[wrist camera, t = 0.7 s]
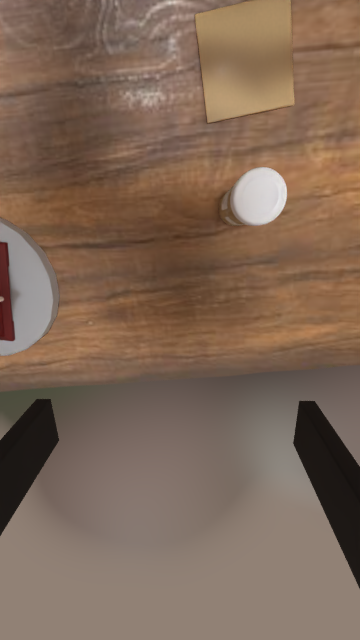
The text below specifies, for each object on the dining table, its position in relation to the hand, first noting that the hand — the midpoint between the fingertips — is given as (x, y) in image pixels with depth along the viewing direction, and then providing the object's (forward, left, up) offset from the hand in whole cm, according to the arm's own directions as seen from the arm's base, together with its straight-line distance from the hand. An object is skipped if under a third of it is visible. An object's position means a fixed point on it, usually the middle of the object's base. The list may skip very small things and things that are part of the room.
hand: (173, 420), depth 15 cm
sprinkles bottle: (-12, +6, -27) cm, 30 cm away
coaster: (-27, +6, -27) cm, 39 cm away
